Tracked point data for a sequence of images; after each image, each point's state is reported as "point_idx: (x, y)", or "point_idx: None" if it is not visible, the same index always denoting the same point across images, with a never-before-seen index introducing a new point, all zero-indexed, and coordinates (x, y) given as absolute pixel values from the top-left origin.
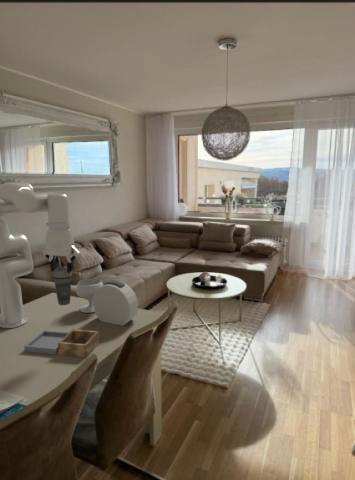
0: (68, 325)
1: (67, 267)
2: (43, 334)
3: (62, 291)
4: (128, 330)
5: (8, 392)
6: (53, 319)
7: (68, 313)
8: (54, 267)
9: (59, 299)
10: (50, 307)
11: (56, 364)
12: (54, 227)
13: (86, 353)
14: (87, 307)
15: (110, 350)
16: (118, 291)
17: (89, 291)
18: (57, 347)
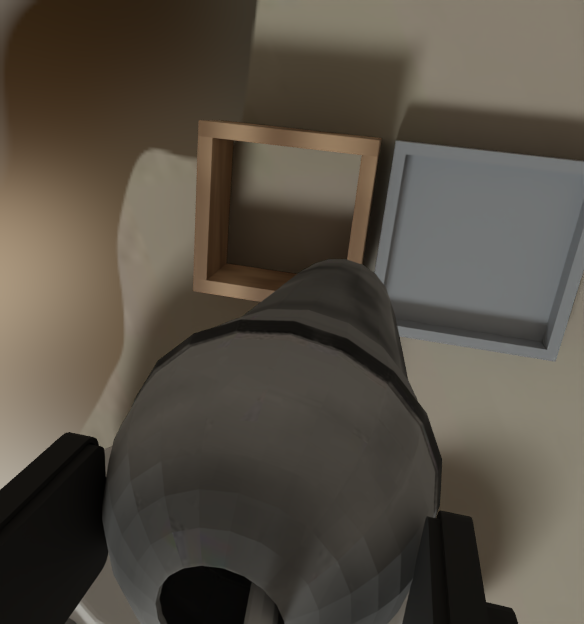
0: (443, 450)
1: (22, 504)
2: (546, 331)
3: (293, 288)
4: (121, 387)
5: None
6: (556, 521)
7: (491, 580)
8: (416, 622)
9: (353, 271)
10: None
11: (356, 34)
12: None
13: (216, 120)
14: (396, 617)
15: (135, 196)
16: None
17: None
18: (393, 160)
